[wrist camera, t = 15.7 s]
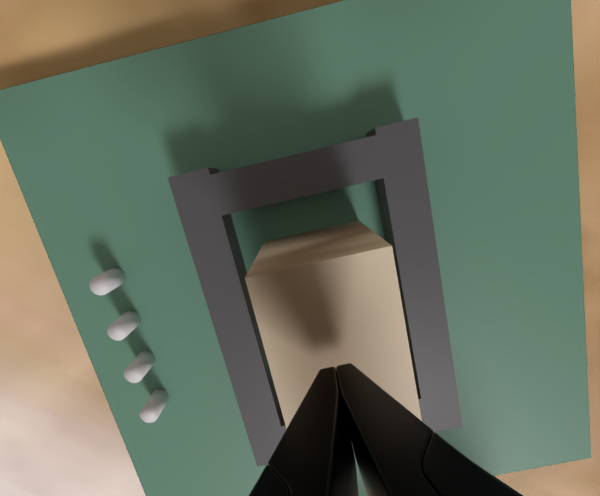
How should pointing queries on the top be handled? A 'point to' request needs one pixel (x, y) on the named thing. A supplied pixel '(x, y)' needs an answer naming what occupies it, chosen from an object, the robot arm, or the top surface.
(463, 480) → the robot arm
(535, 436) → the socket board
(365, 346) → the plug
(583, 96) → the top surface
